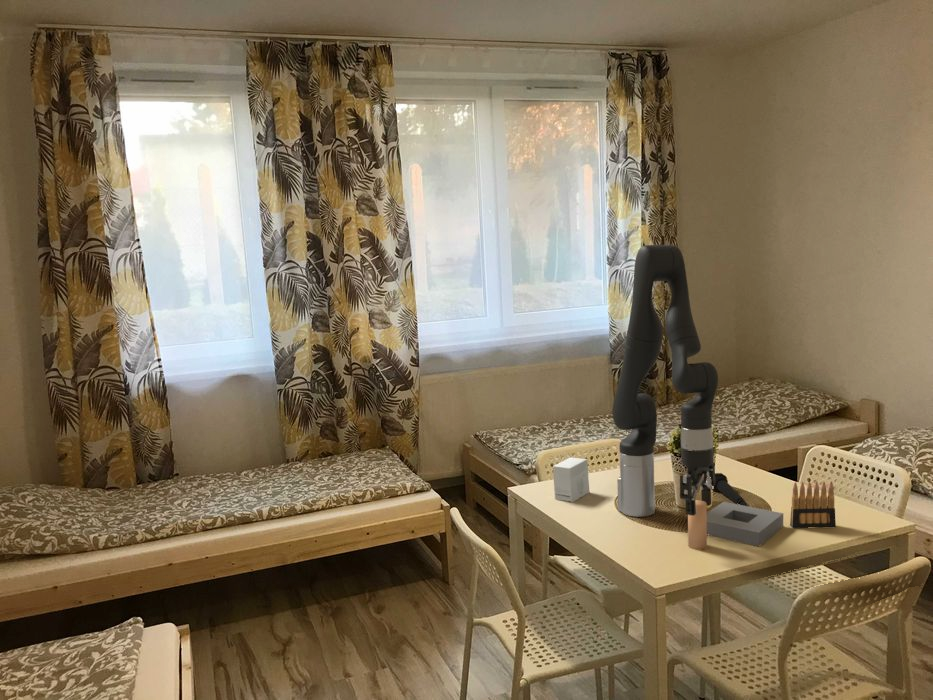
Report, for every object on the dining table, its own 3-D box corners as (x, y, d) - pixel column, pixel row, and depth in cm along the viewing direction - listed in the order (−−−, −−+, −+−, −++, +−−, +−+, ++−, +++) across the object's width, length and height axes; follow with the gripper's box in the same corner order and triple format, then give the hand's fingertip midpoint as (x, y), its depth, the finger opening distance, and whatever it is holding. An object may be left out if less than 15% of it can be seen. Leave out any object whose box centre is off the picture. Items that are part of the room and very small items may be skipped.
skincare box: (571, 489, 237) (570, 456, 235) (589, 492, 233) (588, 459, 231) (553, 499, 229) (552, 465, 227) (572, 502, 225) (570, 468, 223)
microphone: (752, 519, 213) (718, 488, 232) (759, 500, 212) (725, 471, 231) (735, 515, 212) (702, 485, 231) (742, 496, 210) (709, 467, 230)
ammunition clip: (792, 528, 197) (792, 483, 195) (790, 525, 198) (790, 480, 197) (835, 527, 196) (836, 482, 194) (833, 524, 197) (833, 479, 196)
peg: (685, 546, 189) (684, 503, 187) (693, 541, 192) (692, 498, 190) (702, 550, 186) (701, 507, 184) (710, 545, 189) (709, 502, 187)
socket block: (697, 532, 197) (696, 519, 197) (723, 514, 209) (723, 501, 208) (758, 546, 186) (758, 532, 186) (783, 526, 198) (783, 513, 198)
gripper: (695, 436, 193) (697, 499, 195) (668, 449, 183) (670, 515, 185) (724, 440, 188) (725, 504, 190) (698, 453, 178) (700, 521, 179)
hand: (698, 509), depth 187 cm, fingers open, 8 cm apart
